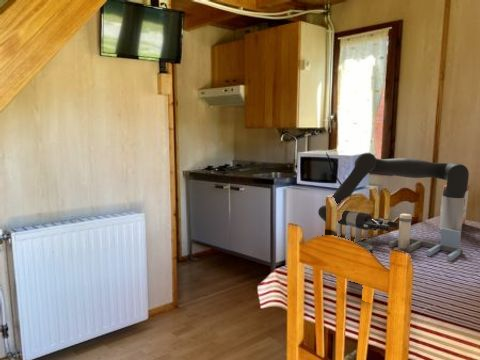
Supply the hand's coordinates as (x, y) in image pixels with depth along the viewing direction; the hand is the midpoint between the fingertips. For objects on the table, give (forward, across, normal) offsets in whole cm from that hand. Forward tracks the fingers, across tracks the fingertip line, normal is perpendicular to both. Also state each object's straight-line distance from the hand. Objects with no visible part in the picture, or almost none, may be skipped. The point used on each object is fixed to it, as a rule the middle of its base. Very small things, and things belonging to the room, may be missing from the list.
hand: (393, 226), depth 166 cm
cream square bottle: (+5, 0, +8) cm, 9 cm away
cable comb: (+12, +2, +8) cm, 15 cm away
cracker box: (+6, +58, +8) cm, 59 cm away
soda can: (+10, -46, +8) cm, 48 cm away
